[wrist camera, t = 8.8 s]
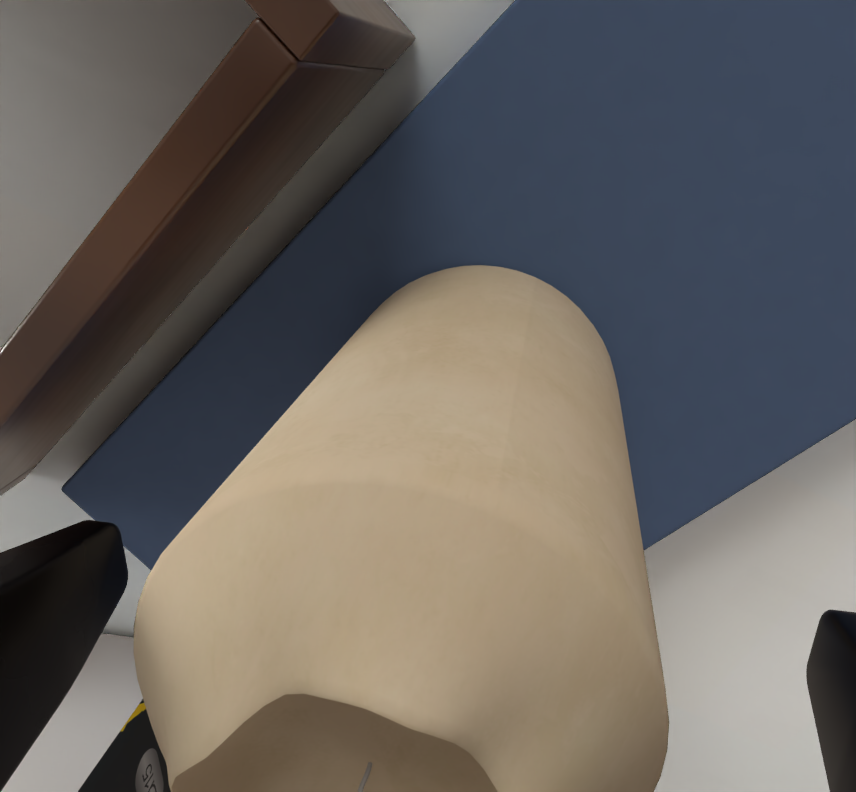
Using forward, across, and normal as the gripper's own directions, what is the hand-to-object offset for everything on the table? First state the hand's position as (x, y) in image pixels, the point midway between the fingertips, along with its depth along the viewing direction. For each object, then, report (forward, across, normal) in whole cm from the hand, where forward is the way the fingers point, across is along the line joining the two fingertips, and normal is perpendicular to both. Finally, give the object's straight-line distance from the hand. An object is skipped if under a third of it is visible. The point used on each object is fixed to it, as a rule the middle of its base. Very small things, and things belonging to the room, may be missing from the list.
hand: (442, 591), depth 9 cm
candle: (+7, 0, 0) cm, 7 cm away
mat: (+7, 0, 0) cm, 7 cm away
